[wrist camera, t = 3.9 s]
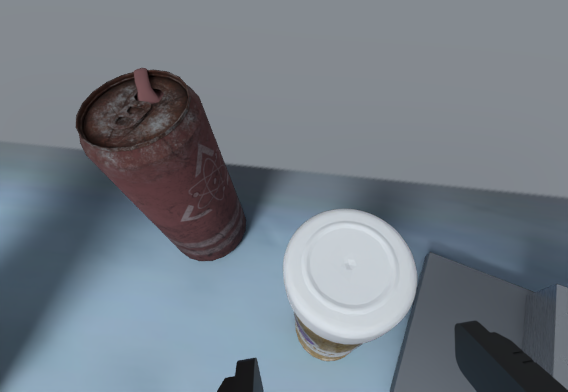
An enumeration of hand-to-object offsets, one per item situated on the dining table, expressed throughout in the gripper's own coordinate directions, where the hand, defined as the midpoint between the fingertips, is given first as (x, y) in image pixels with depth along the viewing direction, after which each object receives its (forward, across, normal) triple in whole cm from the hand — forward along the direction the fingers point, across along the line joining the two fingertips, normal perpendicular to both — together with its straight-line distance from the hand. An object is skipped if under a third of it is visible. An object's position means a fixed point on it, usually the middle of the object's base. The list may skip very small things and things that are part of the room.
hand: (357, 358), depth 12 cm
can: (+15, +8, -2) cm, 17 cm away
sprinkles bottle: (+9, 0, +5) cm, 10 cm away
